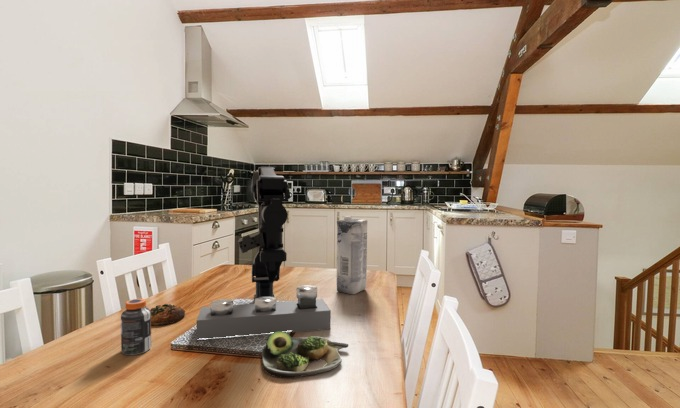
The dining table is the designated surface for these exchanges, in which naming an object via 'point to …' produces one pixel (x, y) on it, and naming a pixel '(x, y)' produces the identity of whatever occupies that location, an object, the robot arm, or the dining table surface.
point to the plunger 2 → (306, 296)
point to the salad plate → (298, 354)
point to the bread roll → (166, 314)
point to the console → (263, 320)
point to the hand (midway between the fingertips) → (271, 282)
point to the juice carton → (351, 255)
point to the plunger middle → (265, 304)
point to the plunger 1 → (221, 307)
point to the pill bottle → (135, 328)
